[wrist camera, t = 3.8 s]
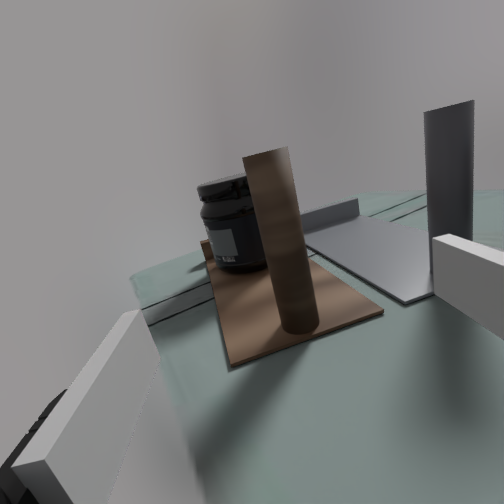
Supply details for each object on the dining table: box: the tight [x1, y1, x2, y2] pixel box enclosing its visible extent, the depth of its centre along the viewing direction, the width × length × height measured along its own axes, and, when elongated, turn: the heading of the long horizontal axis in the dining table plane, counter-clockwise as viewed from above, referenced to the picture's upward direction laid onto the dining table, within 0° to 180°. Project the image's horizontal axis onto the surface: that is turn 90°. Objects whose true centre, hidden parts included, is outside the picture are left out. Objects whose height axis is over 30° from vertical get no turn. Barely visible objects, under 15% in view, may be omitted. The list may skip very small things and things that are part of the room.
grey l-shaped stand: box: [300, 100, 504, 305], centre depth 35 cm, size 28×13×14 cm, turn 13°
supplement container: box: [197, 173, 268, 274], centre depth 39 cm, size 10×10×12 cm
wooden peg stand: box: [200, 147, 384, 367], centre depth 33 cm, size 28×13×14 cm, turn 13°
